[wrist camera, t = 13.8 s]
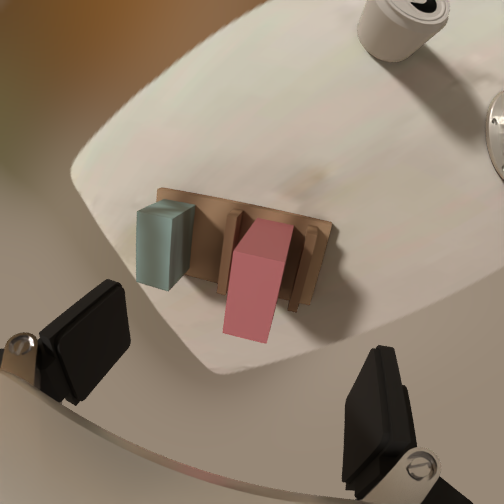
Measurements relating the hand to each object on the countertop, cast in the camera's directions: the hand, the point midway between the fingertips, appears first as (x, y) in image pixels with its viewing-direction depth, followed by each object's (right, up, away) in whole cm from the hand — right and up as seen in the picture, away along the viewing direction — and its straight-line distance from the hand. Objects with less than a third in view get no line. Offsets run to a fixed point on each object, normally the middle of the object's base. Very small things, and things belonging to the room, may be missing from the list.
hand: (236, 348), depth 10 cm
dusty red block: (+2, +3, +23) cm, 24 cm away
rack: (-1, +4, +25) cm, 25 cm away
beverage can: (+15, +26, +13) cm, 33 cm away
